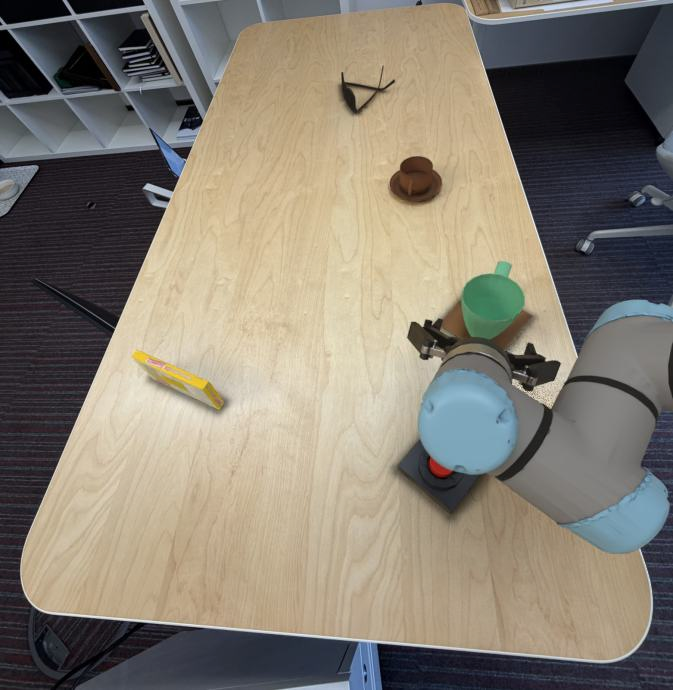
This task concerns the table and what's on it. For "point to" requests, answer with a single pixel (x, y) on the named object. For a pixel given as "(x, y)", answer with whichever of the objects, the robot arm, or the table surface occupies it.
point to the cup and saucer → (415, 180)
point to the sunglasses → (350, 95)
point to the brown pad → (458, 328)
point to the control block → (436, 479)
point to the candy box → (179, 379)
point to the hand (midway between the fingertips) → (481, 338)
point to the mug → (491, 302)
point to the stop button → (438, 469)
